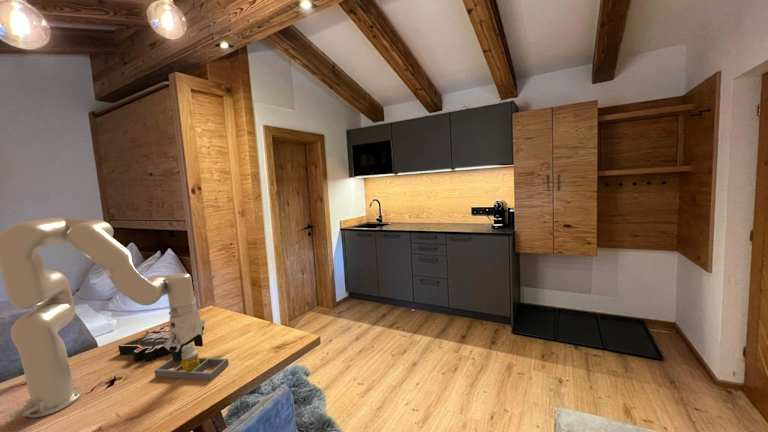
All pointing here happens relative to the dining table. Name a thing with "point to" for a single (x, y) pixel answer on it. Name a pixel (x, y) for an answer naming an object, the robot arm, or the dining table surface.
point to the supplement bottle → (189, 357)
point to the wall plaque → (149, 345)
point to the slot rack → (194, 374)
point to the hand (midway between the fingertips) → (188, 353)
